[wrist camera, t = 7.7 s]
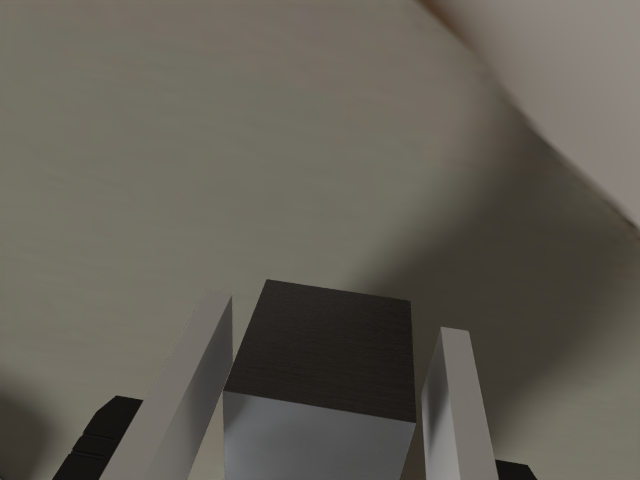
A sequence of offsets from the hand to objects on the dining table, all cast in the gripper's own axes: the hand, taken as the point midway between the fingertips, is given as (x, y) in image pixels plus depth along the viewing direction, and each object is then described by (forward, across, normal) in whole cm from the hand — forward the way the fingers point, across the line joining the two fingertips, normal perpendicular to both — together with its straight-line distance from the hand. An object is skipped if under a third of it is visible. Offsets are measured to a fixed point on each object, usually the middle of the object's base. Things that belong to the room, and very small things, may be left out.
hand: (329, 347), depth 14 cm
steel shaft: (0, 0, -8) cm, 8 cm away
